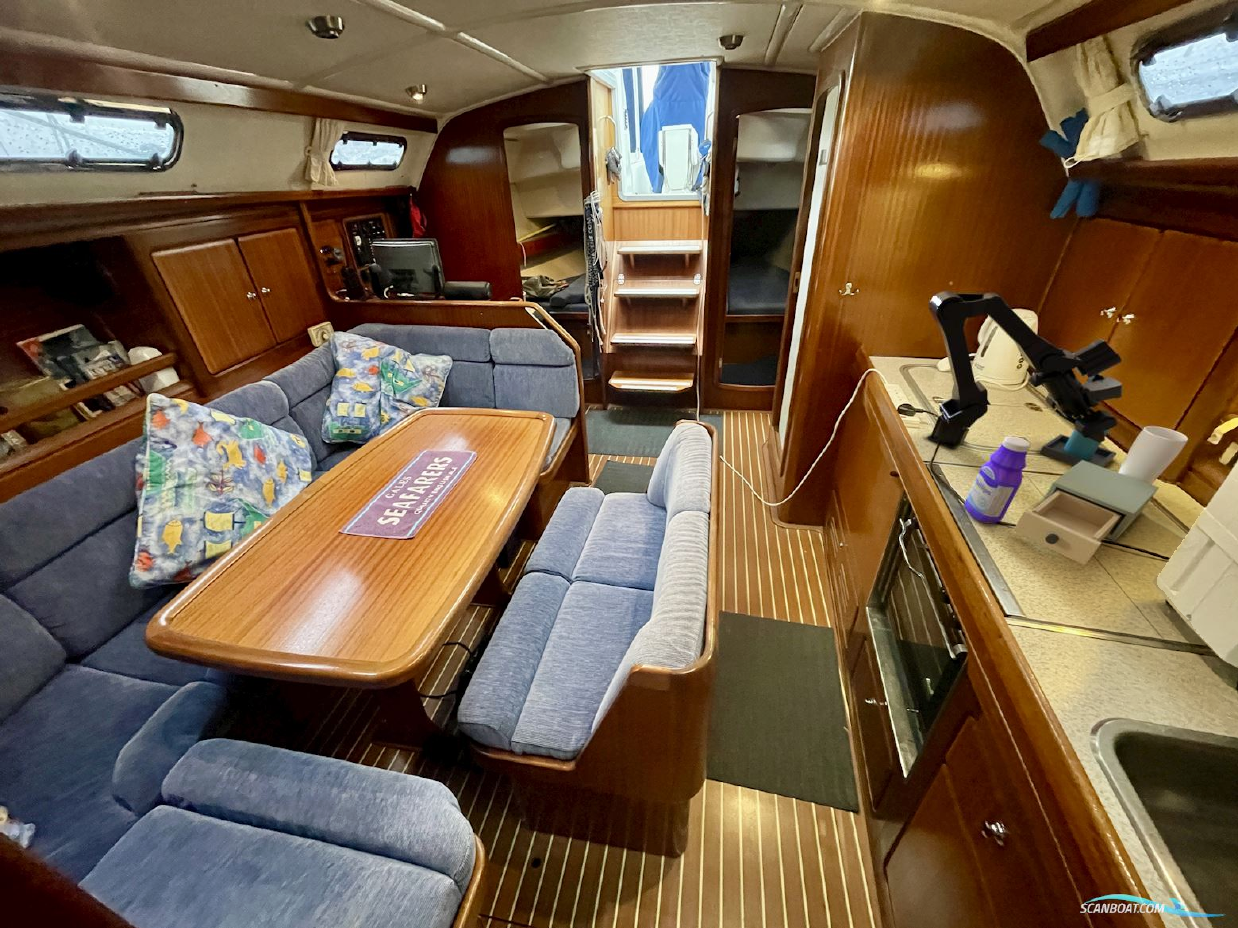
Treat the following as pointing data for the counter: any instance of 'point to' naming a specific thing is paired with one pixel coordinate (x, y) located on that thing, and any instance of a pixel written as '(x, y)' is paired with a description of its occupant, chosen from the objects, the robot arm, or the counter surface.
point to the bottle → (998, 481)
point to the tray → (1055, 451)
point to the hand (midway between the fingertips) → (1094, 435)
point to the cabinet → (1106, 492)
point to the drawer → (1067, 525)
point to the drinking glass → (1152, 453)
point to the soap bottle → (1081, 446)
